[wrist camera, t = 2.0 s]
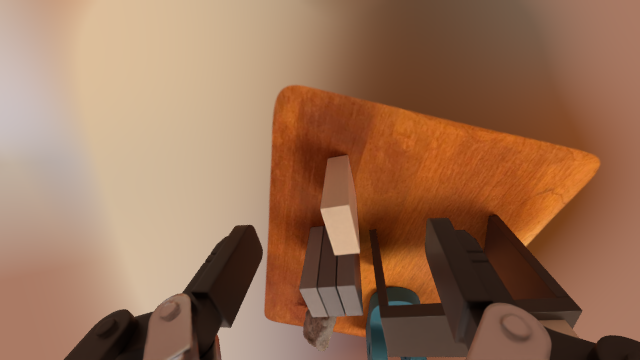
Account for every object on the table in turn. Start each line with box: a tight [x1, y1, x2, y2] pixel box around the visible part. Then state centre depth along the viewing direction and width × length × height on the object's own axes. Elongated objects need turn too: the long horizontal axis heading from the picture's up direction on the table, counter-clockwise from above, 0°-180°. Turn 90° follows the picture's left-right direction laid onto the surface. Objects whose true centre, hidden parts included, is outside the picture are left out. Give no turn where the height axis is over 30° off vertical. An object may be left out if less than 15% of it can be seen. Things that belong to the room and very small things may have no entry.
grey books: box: [299, 226, 363, 317], centre depth 36 cm, size 8×7×12 cm
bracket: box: [366, 287, 427, 360], centre depth 47 cm, size 18×10×10 cm, turn 1°
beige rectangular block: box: [320, 155, 360, 255], centre depth 30 cm, size 3×7×12 cm, turn 14°
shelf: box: [369, 215, 582, 357], centre depth 34 cm, size 20×10×15 cm, turn 104°
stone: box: [303, 309, 337, 351], centre depth 47 cm, size 9×7×10 cm
